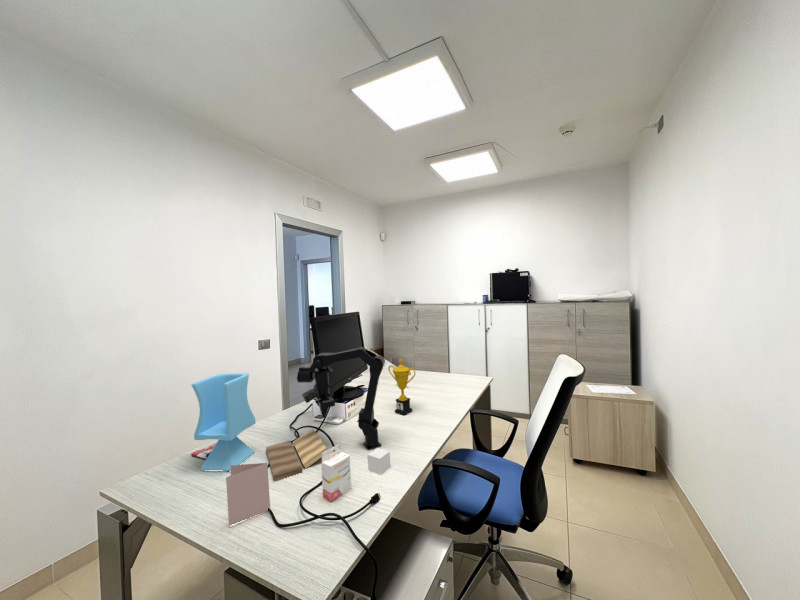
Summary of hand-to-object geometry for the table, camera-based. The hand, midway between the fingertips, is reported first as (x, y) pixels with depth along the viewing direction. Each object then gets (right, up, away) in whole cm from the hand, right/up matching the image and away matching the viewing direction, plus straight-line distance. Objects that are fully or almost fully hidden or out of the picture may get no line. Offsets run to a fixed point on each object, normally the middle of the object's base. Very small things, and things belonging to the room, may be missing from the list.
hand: (323, 417), depth 136 cm
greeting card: (-12, -15, -43) cm, 47 cm away
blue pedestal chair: (-37, -15, -9) cm, 41 cm away
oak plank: (-4, -11, -6) cm, 13 cm away
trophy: (+36, -11, +34) cm, 51 cm away
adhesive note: (+26, -12, -20) cm, 35 cm away
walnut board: (-14, -14, -11) cm, 22 cm away
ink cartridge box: (+13, -13, -33) cm, 38 cm away
